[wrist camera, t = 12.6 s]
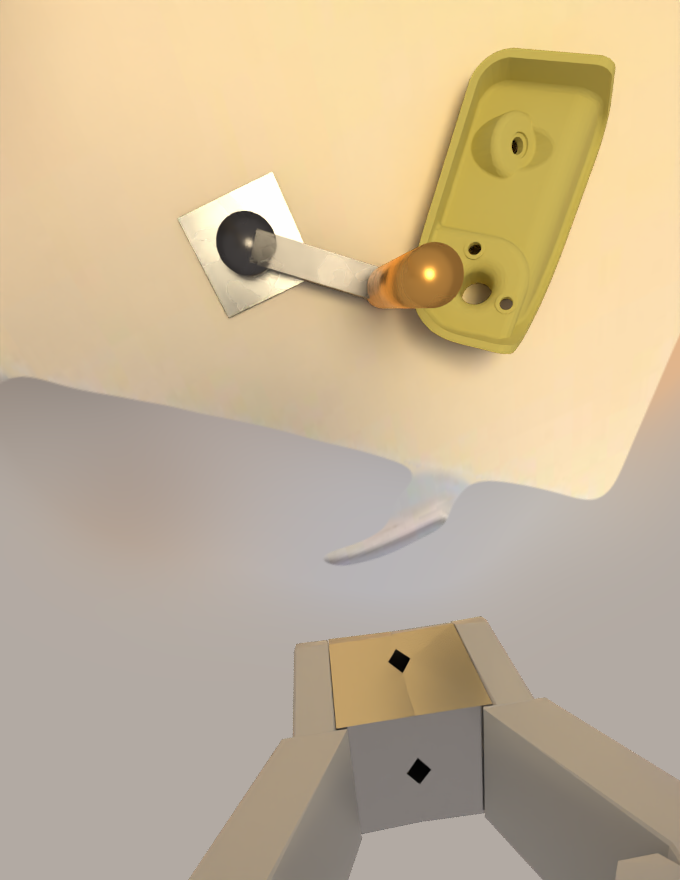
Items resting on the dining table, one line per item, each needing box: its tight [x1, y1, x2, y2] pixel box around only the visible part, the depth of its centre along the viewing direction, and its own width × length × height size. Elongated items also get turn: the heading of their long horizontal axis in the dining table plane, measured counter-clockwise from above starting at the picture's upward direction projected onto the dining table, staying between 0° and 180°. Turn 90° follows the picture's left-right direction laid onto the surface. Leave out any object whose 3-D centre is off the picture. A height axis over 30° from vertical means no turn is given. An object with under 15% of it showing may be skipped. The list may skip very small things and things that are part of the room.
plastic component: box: [415, 48, 615, 354], centre depth 35 cm, size 20×7×10 cm
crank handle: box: [216, 211, 464, 308], centre depth 29 cm, size 15×4×14 cm, turn 74°
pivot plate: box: [177, 172, 305, 318], centre depth 36 cm, size 8×8×1 cm
